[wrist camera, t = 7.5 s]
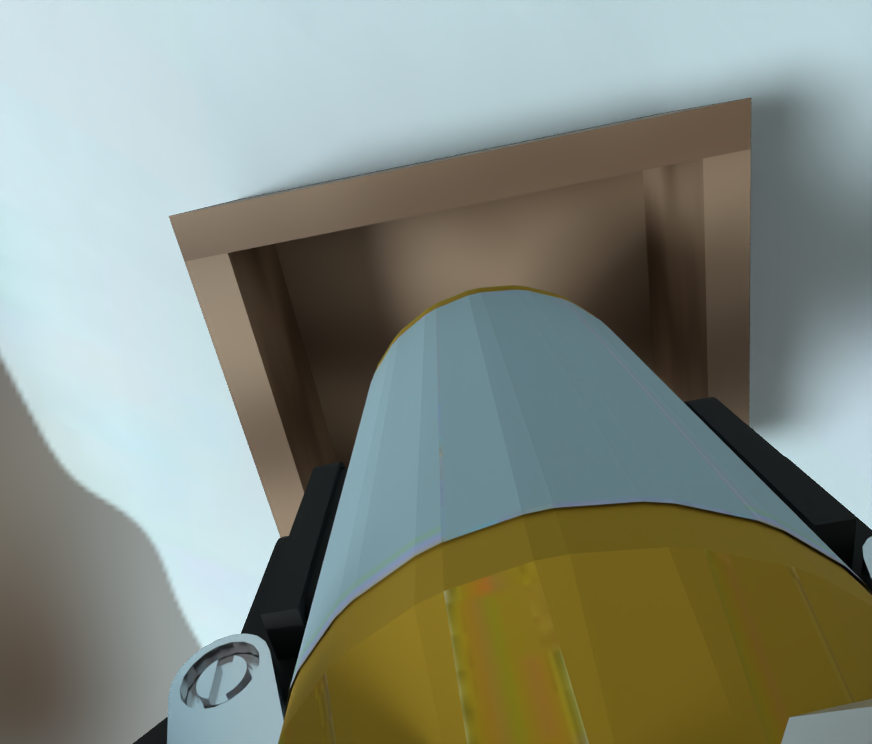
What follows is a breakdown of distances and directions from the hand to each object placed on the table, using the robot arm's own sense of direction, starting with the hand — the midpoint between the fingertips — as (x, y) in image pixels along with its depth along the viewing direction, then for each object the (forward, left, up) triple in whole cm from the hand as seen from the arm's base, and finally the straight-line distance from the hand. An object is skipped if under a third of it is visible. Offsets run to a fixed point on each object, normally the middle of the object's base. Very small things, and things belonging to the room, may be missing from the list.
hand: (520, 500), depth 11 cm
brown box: (0, 0, -11) cm, 11 cm away
